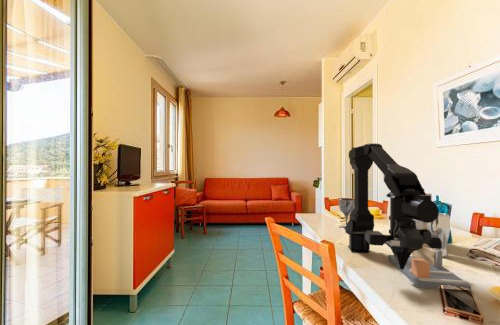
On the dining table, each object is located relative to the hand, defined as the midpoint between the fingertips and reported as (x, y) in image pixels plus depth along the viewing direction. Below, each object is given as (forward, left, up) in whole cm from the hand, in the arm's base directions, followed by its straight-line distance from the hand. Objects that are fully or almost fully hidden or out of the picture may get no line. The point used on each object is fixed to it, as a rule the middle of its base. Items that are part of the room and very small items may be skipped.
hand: (401, 268), depth 74 cm
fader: (+5, 0, -1) cm, 5 cm away
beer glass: (+23, +25, -3) cm, 34 cm away
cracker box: (+22, +42, -4) cm, 47 cm away
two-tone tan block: (+12, +13, -2) cm, 17 cm away
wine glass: (-2, +61, -3) cm, 61 cm away
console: (+9, +6, -3) cm, 11 cm away
